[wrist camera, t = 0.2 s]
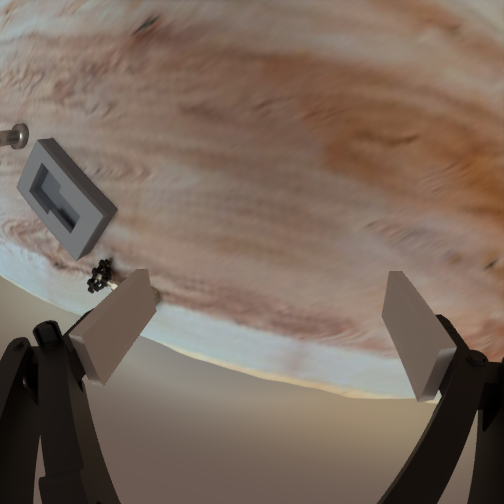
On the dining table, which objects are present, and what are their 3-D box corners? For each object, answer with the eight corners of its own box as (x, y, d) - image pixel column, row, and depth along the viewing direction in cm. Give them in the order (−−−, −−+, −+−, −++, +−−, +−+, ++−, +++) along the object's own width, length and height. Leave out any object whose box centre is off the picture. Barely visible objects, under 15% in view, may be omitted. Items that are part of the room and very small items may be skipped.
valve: (167, 286, 49) (110, 252, 48) (152, 305, 42) (90, 267, 42) (156, 313, 51) (103, 280, 50) (141, 333, 45) (84, 297, 44)
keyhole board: (31, 183, 45) (16, 187, 41) (53, 138, 41) (37, 139, 37) (89, 252, 48) (76, 261, 44) (117, 209, 45) (103, 215, 41)
